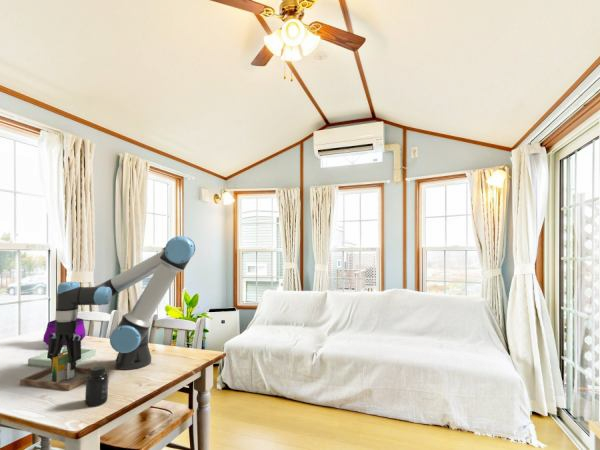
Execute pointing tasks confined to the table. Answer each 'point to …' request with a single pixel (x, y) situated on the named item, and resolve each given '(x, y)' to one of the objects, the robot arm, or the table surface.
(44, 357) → the sage tray
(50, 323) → the decorative plant
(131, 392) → the table surface
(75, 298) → the robot arm
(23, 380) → the walnut frame
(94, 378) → the supplement bottle
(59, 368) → the crayon box
